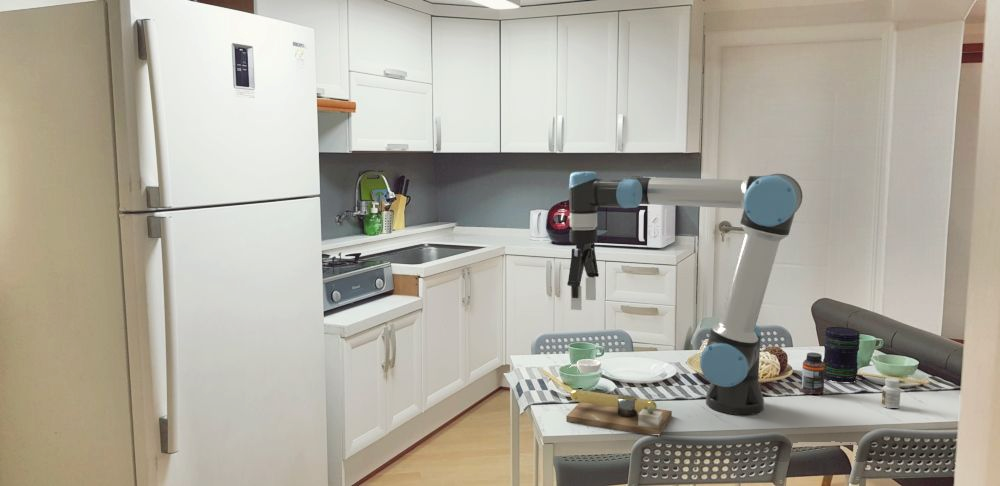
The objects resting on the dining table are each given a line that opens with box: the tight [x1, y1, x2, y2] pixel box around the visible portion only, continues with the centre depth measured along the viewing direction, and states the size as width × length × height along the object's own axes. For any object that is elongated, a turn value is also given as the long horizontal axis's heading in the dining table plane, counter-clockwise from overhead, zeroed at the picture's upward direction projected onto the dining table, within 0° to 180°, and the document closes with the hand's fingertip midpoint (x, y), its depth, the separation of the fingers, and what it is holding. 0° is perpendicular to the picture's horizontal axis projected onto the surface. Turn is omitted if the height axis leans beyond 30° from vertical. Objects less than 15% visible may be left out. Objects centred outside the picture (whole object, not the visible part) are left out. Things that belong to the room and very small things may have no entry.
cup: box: [568, 358, 602, 391], centre depth 225 cm, size 7×10×8 cm
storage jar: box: [822, 326, 861, 382], centre depth 235 cm, size 10×10×15 cm
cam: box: [569, 389, 657, 417], centre depth 202 cm, size 23×5×4 cm, turn 66°
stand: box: [565, 402, 673, 436], centre depth 201 cm, size 24×15×6 cm, turn 66°
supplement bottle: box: [801, 352, 825, 395], centre depth 223 cm, size 6×6×11 cm
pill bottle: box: [881, 377, 902, 409], centre depth 211 cm, size 4×4×8 cm
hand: (583, 304), depth 215 cm, fingers open, 13 cm apart
